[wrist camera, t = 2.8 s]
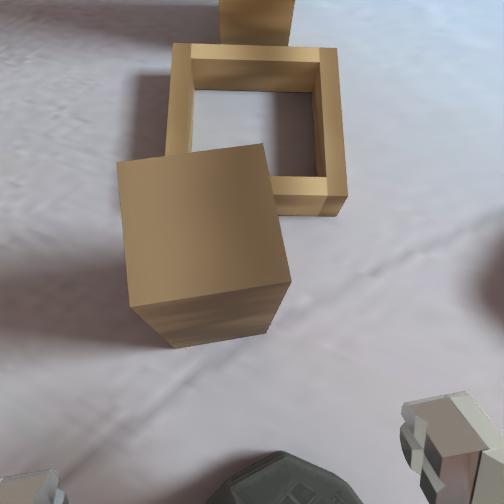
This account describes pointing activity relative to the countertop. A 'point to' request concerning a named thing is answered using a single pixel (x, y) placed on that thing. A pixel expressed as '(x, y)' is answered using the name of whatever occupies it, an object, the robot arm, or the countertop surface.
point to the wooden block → (203, 244)
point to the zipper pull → (285, 484)
